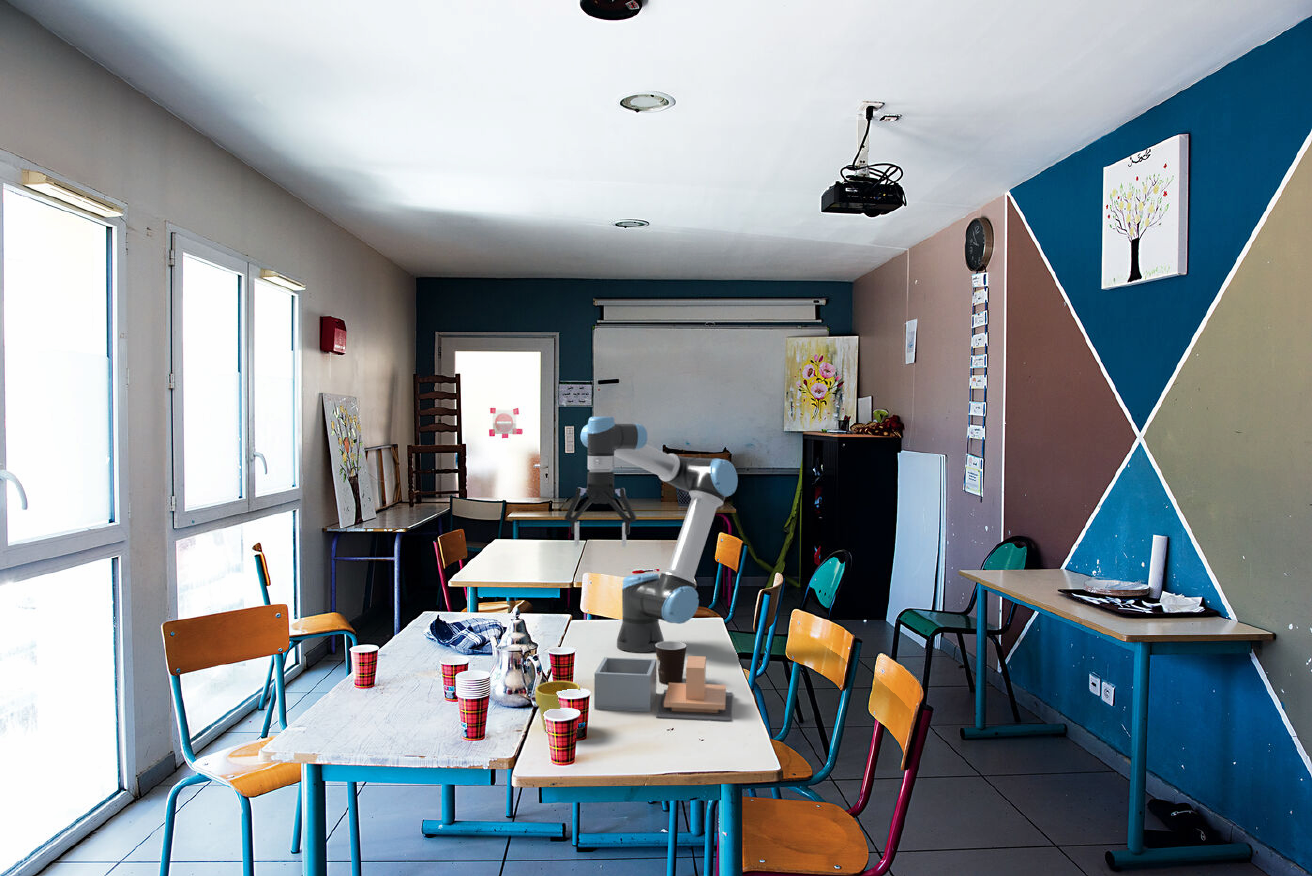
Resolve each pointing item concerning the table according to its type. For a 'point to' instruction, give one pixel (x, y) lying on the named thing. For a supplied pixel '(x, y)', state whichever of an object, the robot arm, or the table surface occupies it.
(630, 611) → the robot arm
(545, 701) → the plant pot
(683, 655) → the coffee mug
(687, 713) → the mat
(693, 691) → the lid
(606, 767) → the table surface
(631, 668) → the storage box
